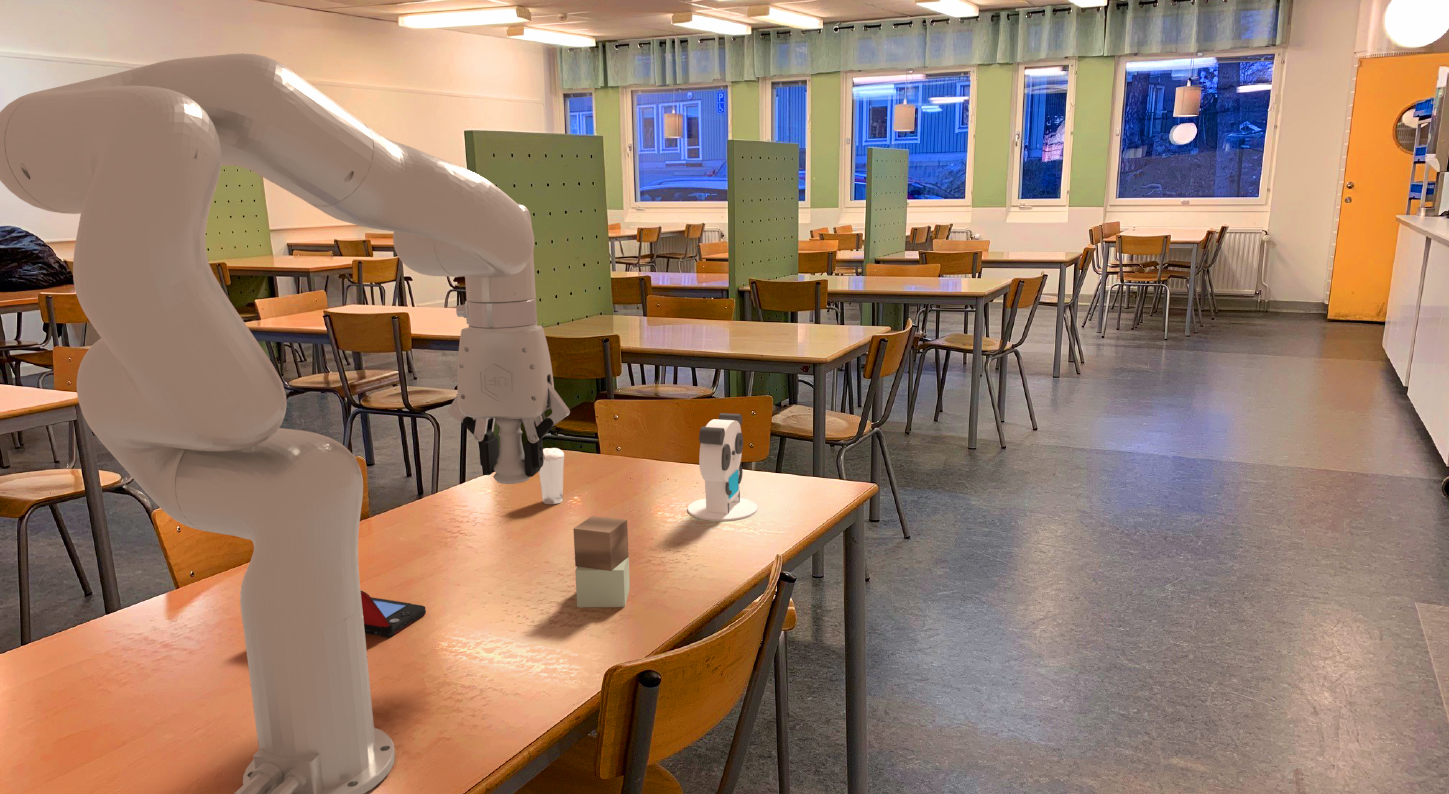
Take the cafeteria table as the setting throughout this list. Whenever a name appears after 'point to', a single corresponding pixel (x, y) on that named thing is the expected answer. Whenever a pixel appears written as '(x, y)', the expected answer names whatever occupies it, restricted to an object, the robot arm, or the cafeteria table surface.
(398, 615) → the handheld game console
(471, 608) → the cafeteria table surface
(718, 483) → the panda figurine
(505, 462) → the rook chess piece
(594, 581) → the base block
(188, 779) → the cafeteria table surface
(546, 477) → the milkshake
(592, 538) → the top block
